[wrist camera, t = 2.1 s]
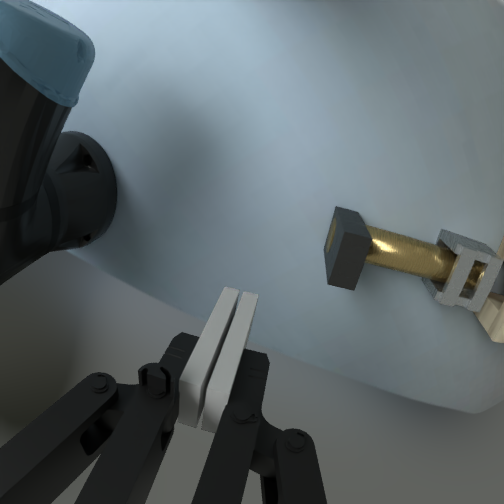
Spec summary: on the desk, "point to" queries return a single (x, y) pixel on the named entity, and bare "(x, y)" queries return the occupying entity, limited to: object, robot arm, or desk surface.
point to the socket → (493, 311)
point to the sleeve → (465, 272)
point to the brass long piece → (383, 253)
